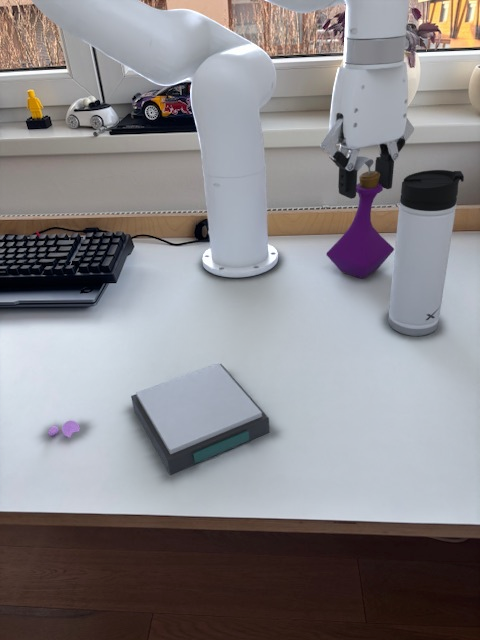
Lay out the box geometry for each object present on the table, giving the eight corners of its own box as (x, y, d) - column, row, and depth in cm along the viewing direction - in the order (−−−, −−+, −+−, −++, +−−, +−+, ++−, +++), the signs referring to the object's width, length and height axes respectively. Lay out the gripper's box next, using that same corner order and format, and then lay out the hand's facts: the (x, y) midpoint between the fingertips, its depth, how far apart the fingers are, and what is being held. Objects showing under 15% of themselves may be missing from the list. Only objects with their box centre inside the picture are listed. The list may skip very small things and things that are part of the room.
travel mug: (443, 338, 68) (468, 182, 58) (388, 335, 69) (403, 182, 59) (437, 312, 73) (460, 165, 63) (387, 310, 75) (401, 165, 64)
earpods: (75, 440, 59) (75, 424, 60) (79, 437, 58) (79, 420, 58) (47, 441, 57) (47, 424, 58) (50, 438, 56) (50, 420, 57)
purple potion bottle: (353, 254, 90) (357, 144, 80) (393, 267, 85) (402, 152, 75) (325, 272, 85) (325, 158, 76) (365, 287, 81) (371, 167, 71)
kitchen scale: (133, 409, 60) (129, 391, 59) (222, 376, 64) (220, 359, 63) (171, 477, 52) (167, 457, 50) (271, 434, 56) (270, 415, 54)
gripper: (405, 44, 75) (393, 173, 84) (300, 58, 69) (300, 196, 78) (446, 47, 69) (428, 186, 79) (336, 63, 63) (331, 211, 72)
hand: (365, 190), depth 78 cm, fingers closed on purple potion bottle, 5 cm apart
